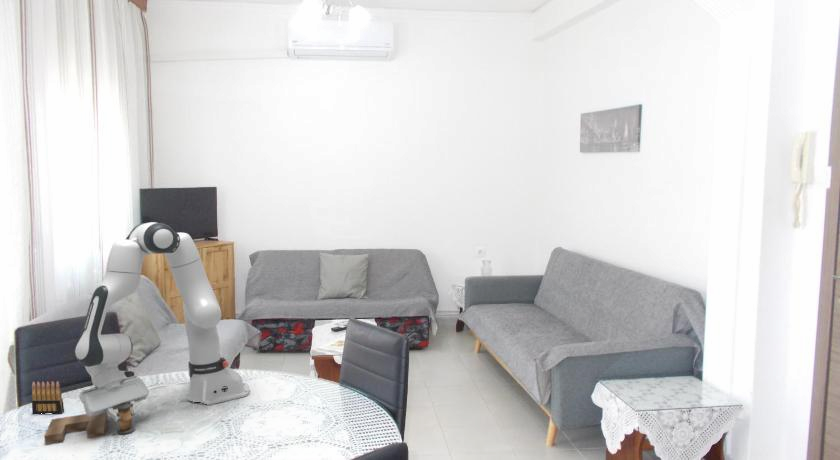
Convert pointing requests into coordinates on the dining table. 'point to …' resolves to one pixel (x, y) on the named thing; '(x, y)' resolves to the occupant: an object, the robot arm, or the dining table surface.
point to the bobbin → (125, 419)
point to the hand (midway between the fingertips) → (125, 417)
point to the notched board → (75, 427)
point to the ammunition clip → (47, 399)
